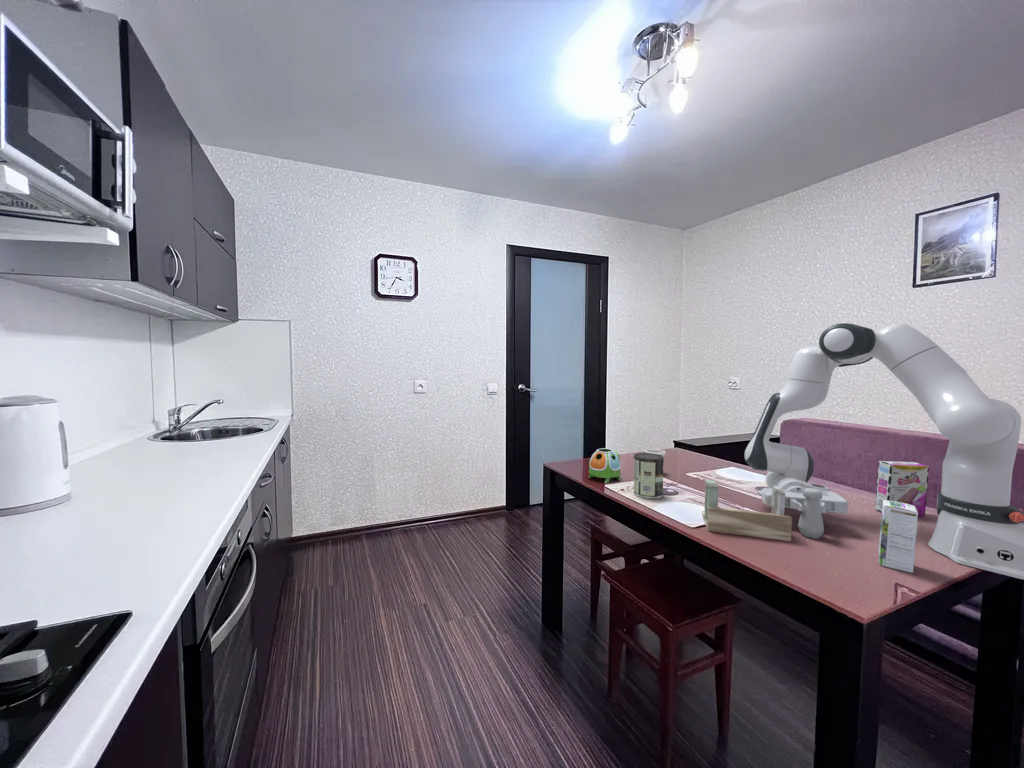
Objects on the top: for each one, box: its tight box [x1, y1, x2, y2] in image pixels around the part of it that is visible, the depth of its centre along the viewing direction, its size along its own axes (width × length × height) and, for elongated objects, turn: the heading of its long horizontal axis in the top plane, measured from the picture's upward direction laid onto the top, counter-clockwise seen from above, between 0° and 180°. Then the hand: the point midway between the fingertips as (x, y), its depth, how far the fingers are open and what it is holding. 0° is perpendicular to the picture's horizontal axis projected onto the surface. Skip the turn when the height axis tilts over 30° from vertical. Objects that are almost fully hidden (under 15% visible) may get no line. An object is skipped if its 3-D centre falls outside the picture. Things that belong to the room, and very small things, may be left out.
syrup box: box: [878, 500, 919, 574], centre depth 92 cm, size 6×6×14 cm
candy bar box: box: [874, 460, 930, 518], centre depth 124 cm, size 11×5×16 cm, turn 84°
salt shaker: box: [797, 488, 825, 540], centre depth 107 cm, size 6×6×13 cm
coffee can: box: [632, 452, 665, 500], centre depth 141 cm, size 10×10×14 cm
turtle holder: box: [588, 447, 622, 484], centre depth 162 cm, size 12×18×12 cm
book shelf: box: [701, 479, 793, 542], centre depth 113 cm, size 12×20×12 cm, turn 72°
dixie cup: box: [644, 448, 666, 464], centre depth 168 cm, size 8×8×10 cm
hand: (813, 509), depth 107 cm, fingers closed on salt shaker, 3 cm apart
